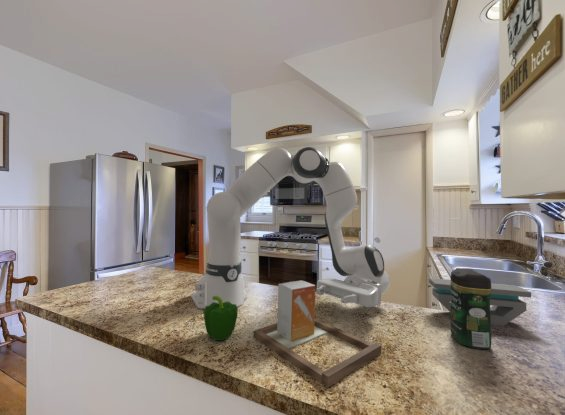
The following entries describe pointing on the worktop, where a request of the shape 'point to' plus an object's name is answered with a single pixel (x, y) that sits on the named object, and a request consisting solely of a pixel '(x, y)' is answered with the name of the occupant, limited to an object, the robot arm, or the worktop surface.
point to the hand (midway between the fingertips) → (329, 295)
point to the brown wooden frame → (283, 345)
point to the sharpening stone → (501, 298)
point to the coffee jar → (471, 308)
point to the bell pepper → (220, 319)
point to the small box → (296, 309)
